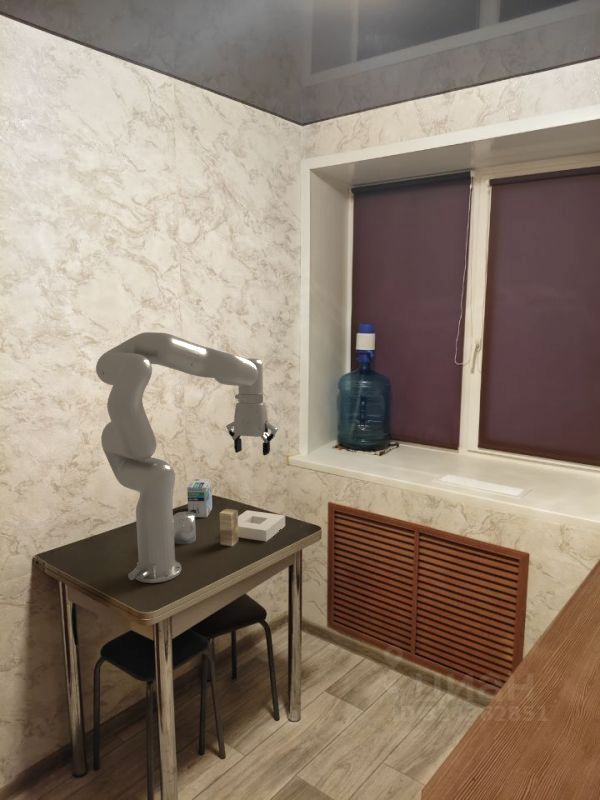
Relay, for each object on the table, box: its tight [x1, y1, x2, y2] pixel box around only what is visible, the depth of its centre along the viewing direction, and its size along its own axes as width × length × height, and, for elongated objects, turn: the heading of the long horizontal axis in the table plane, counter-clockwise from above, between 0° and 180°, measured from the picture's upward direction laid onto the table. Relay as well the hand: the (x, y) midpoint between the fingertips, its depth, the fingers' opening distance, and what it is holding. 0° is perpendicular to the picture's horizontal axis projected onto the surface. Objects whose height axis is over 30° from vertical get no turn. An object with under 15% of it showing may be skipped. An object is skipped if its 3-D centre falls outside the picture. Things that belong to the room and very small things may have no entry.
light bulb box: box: [186, 478, 213, 518], centre depth 203 cm, size 11×7×11 cm, turn 179°
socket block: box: [238, 509, 286, 542], centre depth 186 cm, size 14×14×4 cm
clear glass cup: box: [173, 511, 197, 545], centre depth 178 cm, size 7×7×8 cm
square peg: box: [219, 508, 240, 547], centre depth 176 cm, size 4×4×10 cm
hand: (252, 453), depth 181 cm, fingers open, 9 cm apart
